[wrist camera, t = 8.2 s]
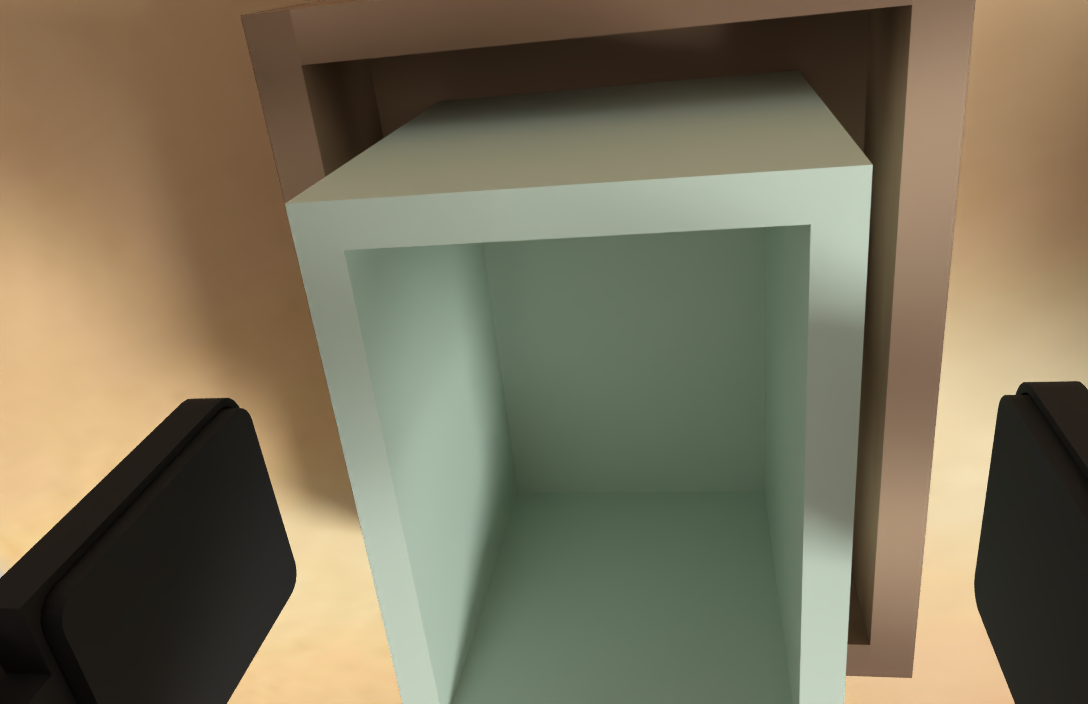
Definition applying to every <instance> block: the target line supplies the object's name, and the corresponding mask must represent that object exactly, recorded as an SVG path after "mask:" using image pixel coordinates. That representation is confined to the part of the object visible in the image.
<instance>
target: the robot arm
mask: <svg viewBox="0 0 1088 704" xmlns="http://www.w3.org/2000/svg"><path fill="white" fill-rule="evenodd" d="M295 583H296V565H295V561H294V557H293V554H292V551H291V547H290V544H289V541H288V537H287V534H286V531H285V528H284V524H283V521H282V518H281V514H280V511H279V508H278V504H277V501H276V498H275V495H274V491H273V488H272V485H271V481H270V478H269V475H268V471H267V468H266V465H265V461H264V458H263V455H262V452H261V448H260V445H259V442H258V438H257V435H256V432H255V428H254V425H253V422H252V419H251V416H250V414H249V413H248V412H247V410H245V409H243V408H239V406H238V405H237V404H236V402H235V401H234V400H232V399H230V398H205V399H187V400H186V401H184V402H182V403H181V404H180V405H179V406H178V407H177V408H176V409H175V410H174V411H173V412H172V413H171V414H170V415H169V416H168V417H167V418H166V419H165V420H164V421H163V422H162V423H161V424H160V425H158V426H157V427H156V428H155V429H154V430H153V431H152V432H151V433H150V434H149V435H148V436H147V437H146V438H145V439H144V440H143V441H142V442H141V443H140V444H139V445H138V446H137V447H136V448H135V449H134V450H133V451H132V452H131V453H130V454H128V455H127V456H126V457H125V458H124V459H123V460H122V461H121V462H120V463H119V464H118V465H117V466H116V467H115V468H114V469H113V470H112V471H111V472H110V473H109V474H108V475H107V476H106V477H105V478H104V479H103V480H102V481H101V482H99V483H98V484H97V485H96V486H95V487H94V488H93V489H92V490H91V491H90V492H89V493H88V494H87V495H86V496H85V497H84V498H83V499H82V500H81V501H80V502H79V503H78V504H77V505H76V506H75V507H74V508H73V509H72V510H71V511H69V512H68V513H67V514H66V515H65V516H64V517H63V518H62V519H61V520H60V521H59V522H58V523H57V524H56V525H55V526H54V527H53V528H52V529H51V530H50V531H49V532H48V533H47V534H46V535H45V536H44V537H43V538H42V539H40V540H39V541H38V542H37V543H36V544H35V545H34V546H33V547H32V548H31V549H30V550H29V551H28V552H27V553H26V554H25V555H24V556H23V557H22V558H21V559H20V560H19V561H18V562H17V563H16V564H15V565H14V566H13V567H12V568H10V569H9V570H8V571H7V572H6V573H5V574H4V575H3V576H2V577H1V578H0V704H227V702H228V701H229V699H230V697H231V696H232V694H233V692H234V690H235V689H236V687H237V685H238V684H239V682H240V680H241V679H242V677H243V675H244V674H245V672H246V670H247V668H248V667H249V665H250V663H251V662H252V660H253V658H254V657H255V655H256V653H257V652H258V650H259V648H260V646H261V645H262V643H263V641H264V640H265V638H266V636H267V635H268V633H269V631H270V629H271V628H272V626H273V624H274V623H275V621H276V619H277V618H278V616H279V614H280V613H281V611H282V609H283V607H284V606H285V604H286V602H287V601H288V599H289V597H290V596H291V594H292V592H293V589H294V586H295ZM974 588H975V598H976V603H977V607H978V611H979V613H980V616H981V618H982V621H983V624H984V626H985V629H986V631H987V634H988V636H989V639H990V641H991V644H992V646H993V649H994V651H995V654H996V656H997V659H998V661H999V664H1000V667H1001V669H1002V672H1003V674H1004V677H1005V679H1006V682H1007V684H1008V687H1009V689H1010V692H1011V694H1012V697H1013V699H1014V702H1015V704H1088V389H1087V388H1086V387H1085V386H1084V385H1083V384H1082V383H1081V382H1077V381H1067V382H1023V383H1022V384H1021V385H1020V386H1019V388H1018V390H1017V392H1016V395H1004V396H1003V397H1002V398H1001V400H1000V402H999V407H998V413H997V420H996V427H995V435H994V442H993V449H992V456H991V463H990V471H989V478H988V485H987V492H986V499H985V506H984V514H983V521H982V528H981V535H980V542H979V550H978V557H977V564H976V571H975V580H974Z"/></svg>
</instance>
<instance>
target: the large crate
mask: <svg viewBox="0 0 1088 704" xmlns="http://www.w3.org/2000/svg"><path fill="white" fill-rule="evenodd" d="M974 10H975V0H324V1H318V2H312V3H307V4H301V5H296V6H290V7H285V8H279V9H273V10H268V11H262V12H257V13H251V14H245V15H241V19H242V23H243V27H244V32H245V36H246V40H247V44H248V49H249V53H250V57H251V61H252V65H253V70H254V74H255V78H256V82H257V87H258V91H259V95H260V99H261V104H262V108H263V112H264V116H265V120H266V125H267V129H268V133H269V137H270V142H271V146H272V150H273V154H274V158H275V163H276V167H277V171H278V175H279V180H280V184H281V188H282V192H283V196H284V201H285V203H287V202H288V201H290V200H291V199H293V198H294V197H296V196H297V195H299V194H300V193H302V192H303V191H305V190H306V189H308V188H309V187H311V186H312V185H314V184H315V183H317V182H318V181H320V180H321V179H323V178H324V177H326V176H327V175H329V174H330V173H332V172H333V171H335V170H336V169H338V168H339V167H341V166H343V165H344V164H346V163H347V162H349V161H350V160H352V159H353V158H355V157H356V156H358V155H359V154H361V153H362V152H364V151H365V150H367V149H368V148H370V147H371V146H373V145H374V144H376V143H377V142H379V141H380V140H382V139H383V138H385V137H386V136H388V135H389V134H391V133H392V132H394V131H395V130H397V129H398V128H400V127H401V126H403V125H404V124H406V123H407V122H409V121H410V120H412V119H413V118H415V117H416V116H418V115H419V114H421V113H422V112H424V111H425V110H427V109H429V108H430V107H432V106H433V105H435V104H436V103H438V102H439V101H445V100H457V99H468V98H480V97H492V96H503V95H515V94H526V93H538V92H549V91H561V90H572V89H584V88H595V87H607V86H619V85H630V84H642V83H653V82H665V81H676V80H688V79H699V78H711V77H722V76H734V75H746V74H757V73H769V72H780V71H792V70H798V71H799V72H800V73H801V75H802V76H803V77H804V78H805V80H806V81H807V82H808V83H809V85H810V86H811V87H812V88H813V90H814V91H815V92H816V94H817V95H818V96H819V97H820V99H821V100H822V101H823V102H824V104H825V105H826V106H827V107H828V109H829V110H830V111H831V112H832V114H833V115H834V116H835V118H836V119H837V120H838V121H839V123H840V124H841V125H842V126H843V128H844V129H845V130H846V131H847V133H848V134H849V135H850V136H851V138H852V139H853V140H854V142H855V143H856V144H857V145H858V147H859V148H860V149H861V150H862V152H863V153H864V154H865V155H866V157H867V158H868V159H869V161H870V162H871V163H872V164H873V171H872V189H871V208H870V227H869V246H868V265H867V284H866V302H865V321H864V340H863V359H862V378H861V397H860V415H859V434H858V453H857V472H856V491H855V509H854V528H853V547H852V566H851V585H850V604H849V622H848V641H847V660H846V676H871V677H900V678H912V671H913V660H914V649H915V639H916V628H917V617H918V607H919V596H920V585H921V575H922V564H923V553H924V543H925V532H926V522H927V511H928V500H929V490H930V479H931V468H932V458H933V447H934V436H935V426H936V415H937V404H938V394H939V383H940V372H941V362H942V351H943V340H944V330H945V319H946V308H947V298H948V287H949V276H950V266H951V255H952V244H953V234H954V223H955V212H956V202H957V191H958V180H959V170H960V159H961V148H962V138H963V127H964V117H965V106H966V95H967V85H968V74H969V63H970V53H971V42H972V31H973V21H974Z"/></svg>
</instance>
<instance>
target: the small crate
mask: <svg viewBox="0 0 1088 704" xmlns="http://www.w3.org/2000/svg"><path fill="white" fill-rule="evenodd" d="M872 171H873V164H872V163H871V162H870V161H869V159H868V158H867V157H866V155H865V154H864V153H863V152H862V150H861V149H860V148H859V147H858V145H857V144H856V143H855V142H854V140H853V139H852V138H851V136H850V135H849V134H848V133H847V131H846V130H845V129H844V128H843V126H842V125H841V124H840V123H839V121H838V120H837V119H836V118H835V116H834V115H833V114H832V112H831V111H830V110H829V109H828V107H827V106H826V105H825V104H824V102H823V101H822V100H821V99H820V97H819V96H818V95H817V94H816V92H815V91H814V90H813V88H812V87H811V86H810V85H809V83H808V82H807V81H806V80H805V78H804V77H803V76H802V75H801V73H800V72H799V71H798V70H792V71H780V72H769V73H757V74H746V75H734V76H722V77H711V78H699V79H688V80H676V81H665V82H653V83H642V84H630V85H619V86H607V87H595V88H584V89H572V90H561V91H549V92H538V93H526V94H515V95H503V96H492V97H480V98H468V99H457V100H445V101H439V102H438V103H436V104H435V105H433V106H432V107H430V108H429V109H427V110H425V111H424V112H422V113H421V114H419V115H418V116H416V117H415V118H413V119H412V120H410V121H409V122H407V123H406V124H404V125H403V126H401V127H400V128H398V129H397V130H395V131H394V132H392V133H391V134H389V135H388V136H386V137H385V138H383V139H382V140H380V141H379V142H377V143H376V144H374V145H373V146H371V147H370V148H368V149H367V150H365V151H364V152H362V153H361V154H359V155H358V156H356V157H355V158H353V159H352V160H350V161H349V162H347V163H346V164H344V165H343V166H341V167H339V168H338V169H336V170H335V171H333V172H332V173H330V174H329V175H327V176H326V177H324V178H323V179H321V180H320V181H318V182H317V183H315V184H314V185H312V186H311V187H309V188H308V189H306V190H305V191H303V192H302V193H300V194H299V195H297V196H296V197H294V198H293V199H291V200H290V201H288V202H287V203H285V207H286V212H287V216H288V220H289V224H290V229H291V233H292V237H293V241H294V246H295V250H296V254H297V258H298V262H299V267H300V271H301V275H302V279H303V284H304V288H305V292H306V296H307V301H308V305H309V309H310V313H311V318H312V322H313V326H314V330H315V335H316V339H317V343H318V347H319V352H320V356H321V360H322V364H323V369H324V373H325V377H326V381H327V386H328V390H329V394H330V398H331V402H332V407H333V411H334V415H335V419H336V424H337V428H338V432H339V436H340V441H341V445H342V449H343V453H344V458H345V462H346V466H347V470H348V475H349V479H350V483H351V487H352V492H353V496H354V500H355V504H356V509H357V513H358V517H359V521H360V526H361V530H362V534H363V538H364V543H365V547H366V551H367V555H368V559H369V564H370V568H371V572H372V576H373V581H374V585H375V589H376V593H377V598H378V602H379V606H380V610H381V615H382V619H383V623H384V627H385V632H386V636H387V640H388V644H389V649H390V653H391V657H392V661H393V666H394V670H395V674H396V678H397V683H398V687H399V691H400V695H401V699H402V704H844V698H845V679H846V660H847V641H848V622H849V604H850V585H851V566H852V547H853V528H854V509H855V491H856V472H857V453H858V434H859V415H860V397H861V378H862V359H863V340H864V321H865V302H866V284H867V265H868V246H869V227H870V208H871V189H872Z"/></svg>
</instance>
